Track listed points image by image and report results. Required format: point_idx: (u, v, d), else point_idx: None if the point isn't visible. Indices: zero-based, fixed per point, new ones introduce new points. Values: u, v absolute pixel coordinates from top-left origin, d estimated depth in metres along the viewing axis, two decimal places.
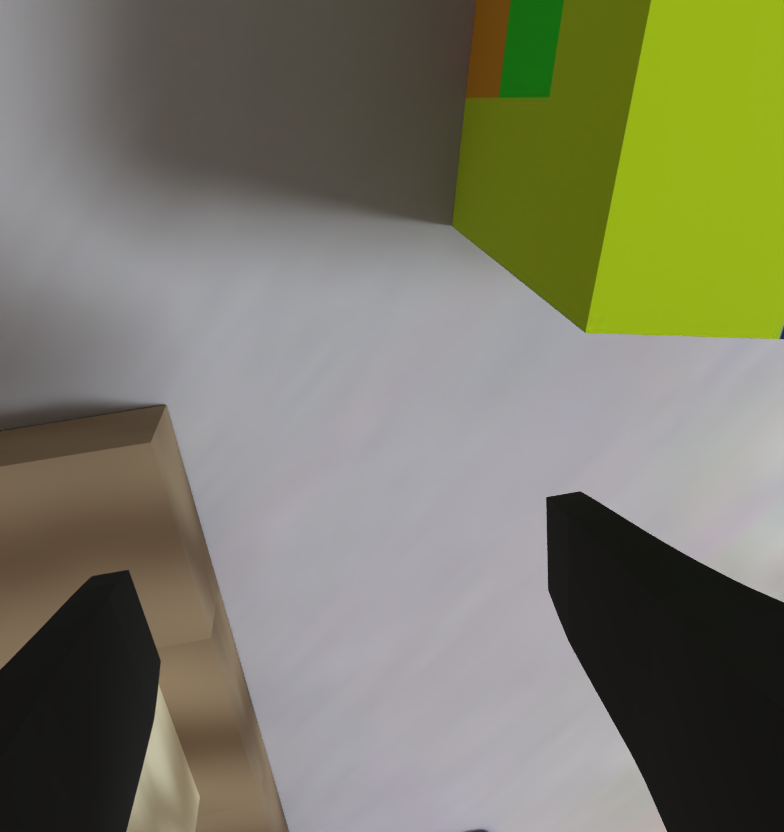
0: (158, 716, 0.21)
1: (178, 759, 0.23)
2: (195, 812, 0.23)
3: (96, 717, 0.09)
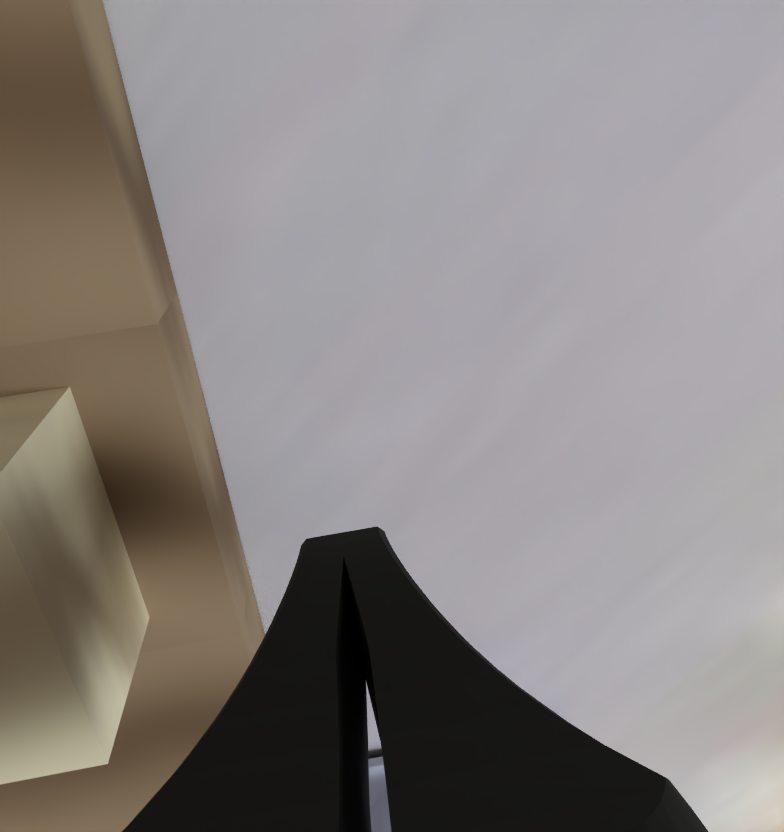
0: (72, 447, 0.13)
1: (111, 538, 0.15)
2: (140, 631, 0.15)
3: (351, 670, 0.09)
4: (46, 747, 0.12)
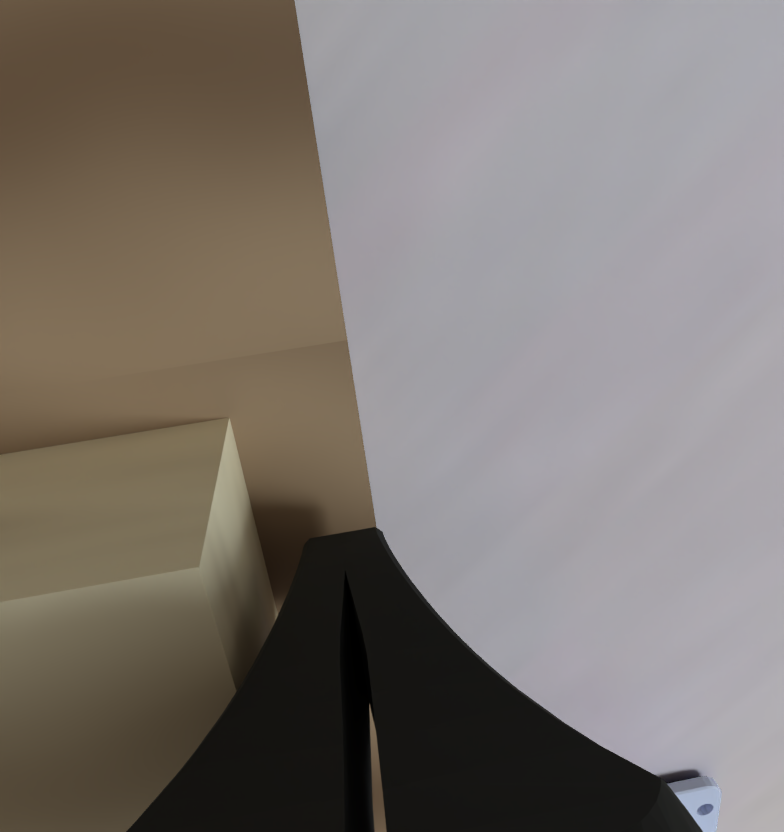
0: (238, 493, 0.11)
1: (267, 597, 0.12)
2: None
3: (354, 668, 0.09)
4: None
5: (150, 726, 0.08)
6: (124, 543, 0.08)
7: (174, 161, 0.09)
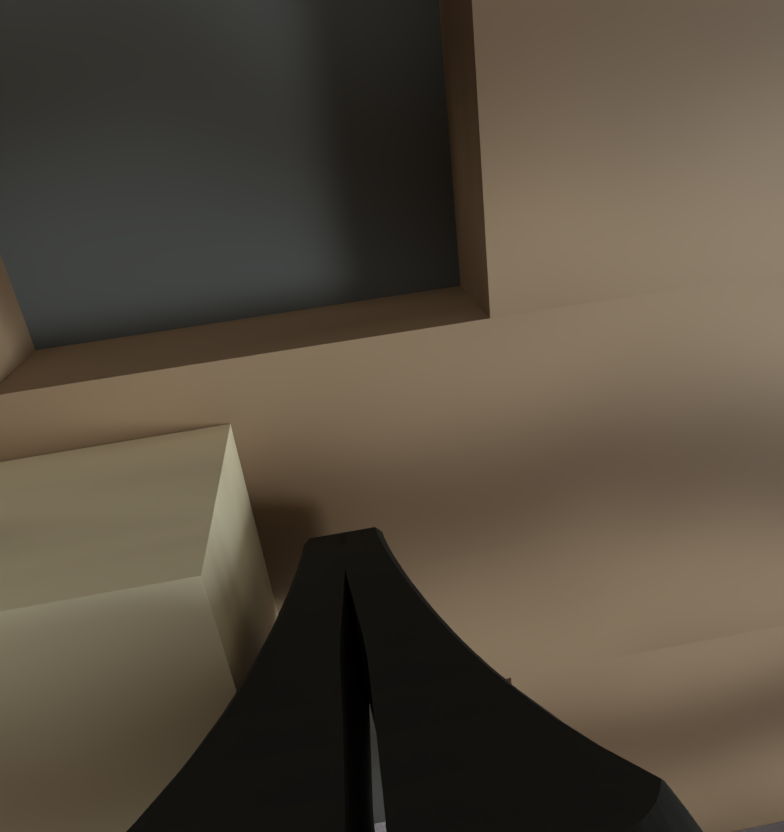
0: (239, 498, 0.11)
1: (269, 601, 0.12)
2: None
3: (354, 669, 0.09)
4: None
5: (152, 732, 0.09)
6: (125, 551, 0.08)
7: None
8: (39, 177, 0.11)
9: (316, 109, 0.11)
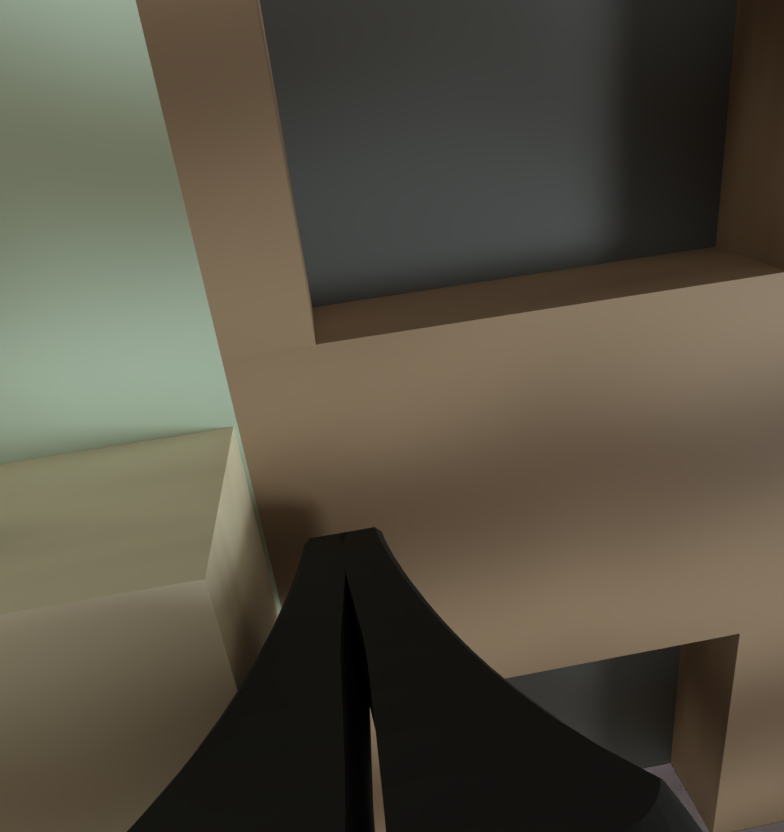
0: (242, 502, 0.11)
1: (270, 604, 0.12)
2: None
3: (355, 669, 0.09)
4: None
5: (155, 735, 0.09)
6: (129, 554, 0.08)
7: None
8: (344, 135, 0.12)
9: (610, 69, 0.12)
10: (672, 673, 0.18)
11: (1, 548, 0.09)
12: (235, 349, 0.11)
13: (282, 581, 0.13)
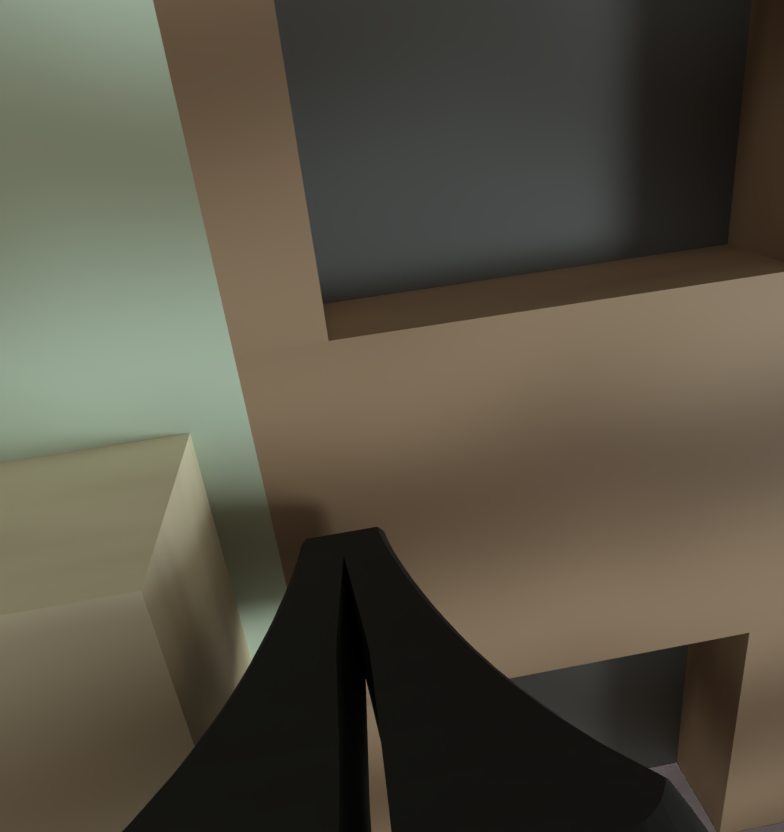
0: (197, 509, 0.11)
1: (230, 612, 0.12)
2: None
3: (351, 669, 0.09)
4: None
5: (97, 747, 0.08)
6: (69, 564, 0.08)
7: None
8: (356, 130, 0.12)
9: (624, 65, 0.12)
10: (679, 672, 0.18)
11: None
12: (247, 345, 0.11)
13: None
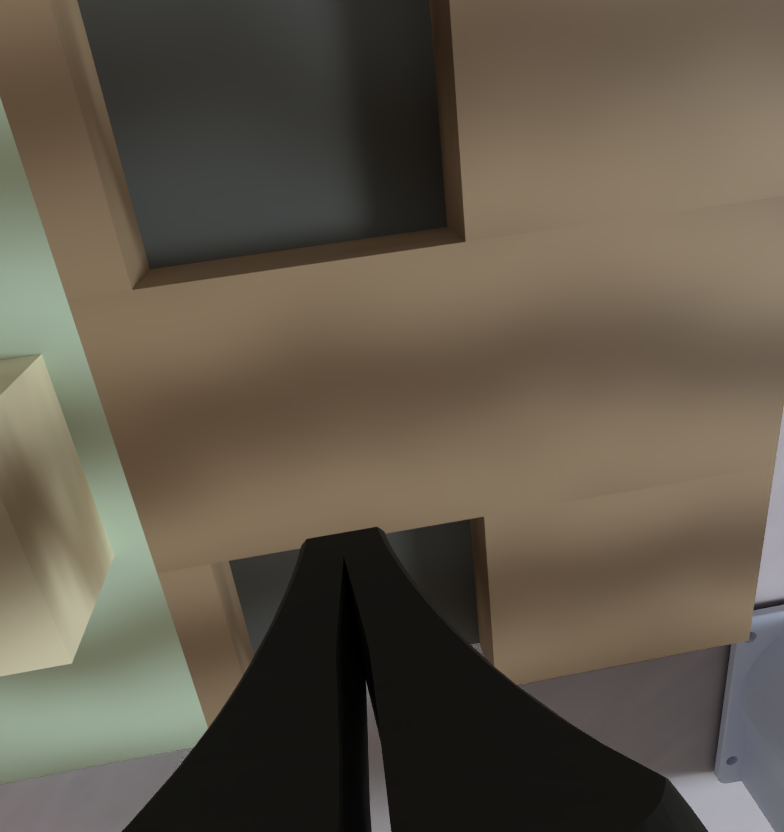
0: (43, 404, 0.16)
1: (78, 483, 0.17)
2: (104, 566, 0.18)
3: (351, 670, 0.09)
4: (20, 647, 0.15)
5: None
6: None
7: (753, 70, 0.16)
8: (160, 146, 0.17)
9: (348, 101, 0.17)
10: (468, 564, 0.23)
11: None
12: (75, 292, 0.16)
13: (127, 464, 0.18)
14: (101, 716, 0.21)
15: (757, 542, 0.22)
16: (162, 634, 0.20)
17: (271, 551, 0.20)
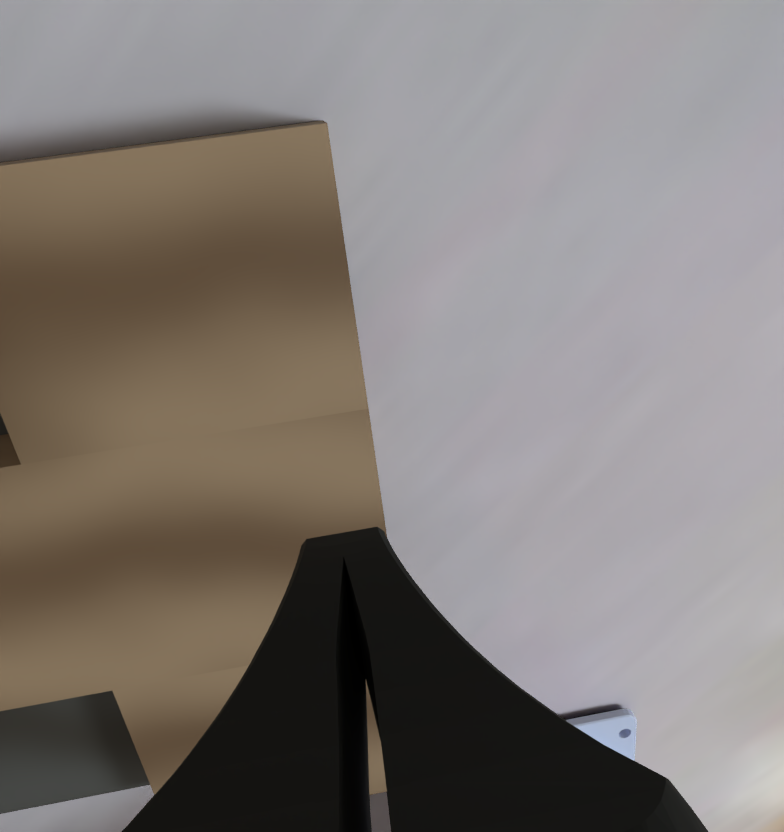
0: None
1: None
2: None
3: (351, 669, 0.09)
4: None
5: None
6: None
7: (272, 312, 0.17)
8: None
9: None
10: None
11: None
12: None
13: None
14: None
15: None
16: None
17: None
